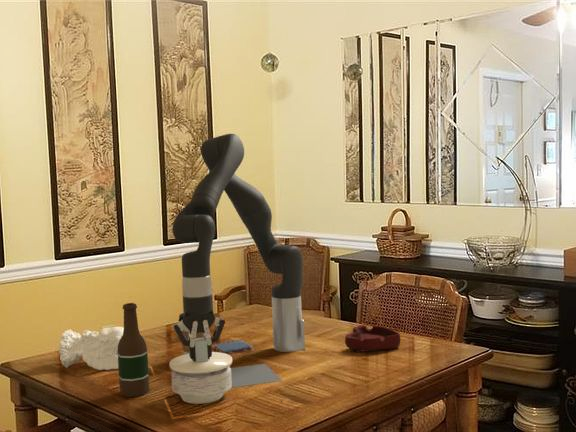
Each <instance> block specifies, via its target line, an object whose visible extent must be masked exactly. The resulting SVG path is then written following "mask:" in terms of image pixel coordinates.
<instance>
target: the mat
mask: <svg viewBox="0 0 576 432" xmlns="http://www.w3.org/2000/svg"><path fill="white" fill-rule="evenodd" d="M230 368H231V379H232V383H231V384H232V385H231V388H230V389H234V388H238V387H239V388H240V387H247V386H254V385H261V384H262V385H263V384H268V383H275V382H282V381H283V380H282V379H281V377H279V376H278V374H276V373H275V372H274V371H273V370H272V369H271V368H270V367H269V366H268V364H266V363H260V364H259V363H258V364H253V365H245V366H238V367H237V366H235V367H230Z"/></svg>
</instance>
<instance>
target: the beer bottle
mask: <svg viewBox="0 0 576 432" xmlns="http://www.w3.org/2000/svg"><path fill="white" fill-rule="evenodd" d="M137 308H138V306H137V303H134V302H129V303H128V302H127V303H124V304H122V309H123V328H124V331H123V335H122V337H121V339H120V341H119V344H118V369H117V370H118V382H119V383H118V384H119V392H120V394H121V396H122V397H124V398H125V397H126V398H136V397H142V396H144V395H146V394H147V393H149V392H150V374H149V360H148V359H149V357H148V347H147V342H146V340H145V338H144V337H143V336H142V334H141V333H140V329H139V323H138V314H137Z"/></svg>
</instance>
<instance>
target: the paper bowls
mask: <svg viewBox="0 0 576 432" xmlns="http://www.w3.org/2000/svg"><path fill="white" fill-rule="evenodd" d="M231 368H232V367H231V365H230V366H229V367H227V368H224V369H222V370H218V371H214V372H208V373H195V374H192V373H180V372H176V371H173V370H172V369H171V389H172V392H174V393H175V394H177V395H179V396H180V398H181V400H182V401H183V402H185V403H189V404H194V405H195V404H196V405H197V404H199V405H200V404H209V403H213V402H216V401H219V400H220V399H222V398H223V397H224V395H225V393H226V392H228V391H229V390H231V389H232V388H231V385H232V384H231V383H232V379H231Z"/></svg>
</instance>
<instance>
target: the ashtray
mask: <svg viewBox="0 0 576 432" xmlns="http://www.w3.org/2000/svg"><path fill="white" fill-rule="evenodd" d="M344 344H345V346H346V347H347V348H348V349H350V350H351V352H353V353H359V352H367V351H380V350H381V351H383V350H392V349H397V348H399V346H400V344H401V335H400V333H399V332H397V331H396V330H393V329H390V328H388V327H385V326H383V325H373V326H372V327H371V328H368V327H367V326H366V325H365V324H361V325H357V326H354V327H353V328H352V333H347V334H346V335H345V337H344Z"/></svg>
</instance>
